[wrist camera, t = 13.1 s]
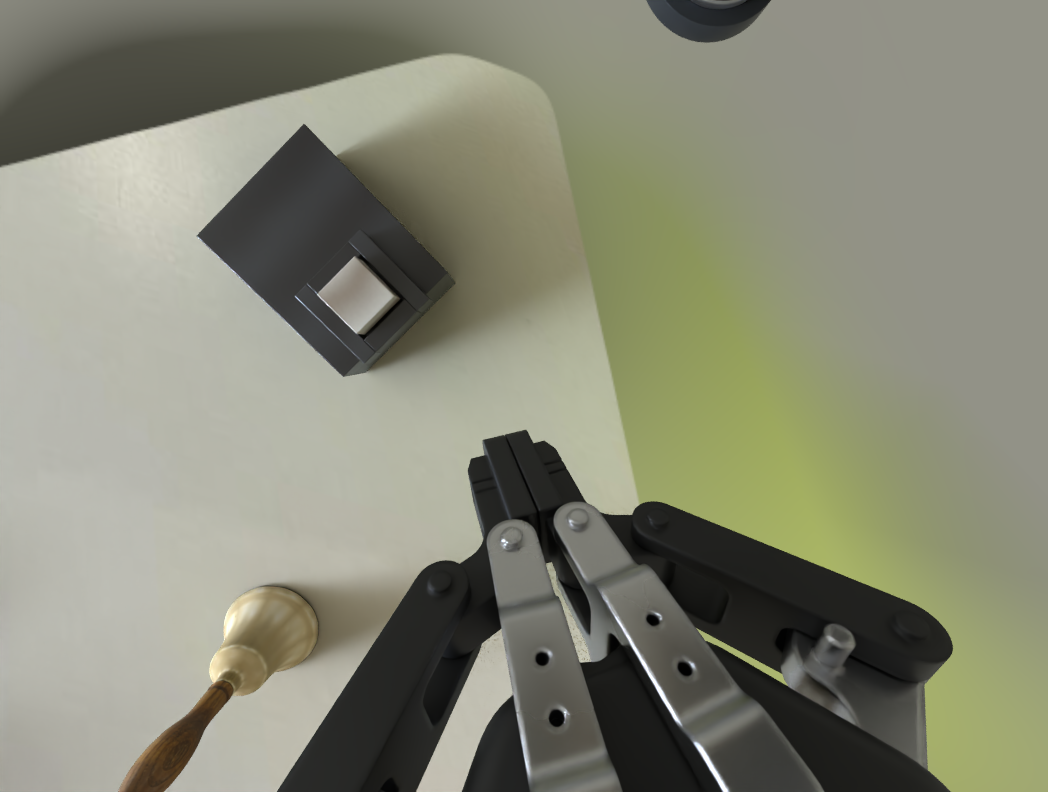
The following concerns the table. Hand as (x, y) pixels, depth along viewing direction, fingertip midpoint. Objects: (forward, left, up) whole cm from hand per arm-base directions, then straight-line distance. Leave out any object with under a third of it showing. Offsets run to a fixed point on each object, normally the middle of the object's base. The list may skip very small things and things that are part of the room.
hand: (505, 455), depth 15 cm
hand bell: (+22, +21, -24) cm, 39 cm away
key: (+10, -7, -17) cm, 21 cm away
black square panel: (+13, -11, -24) cm, 29 cm away
